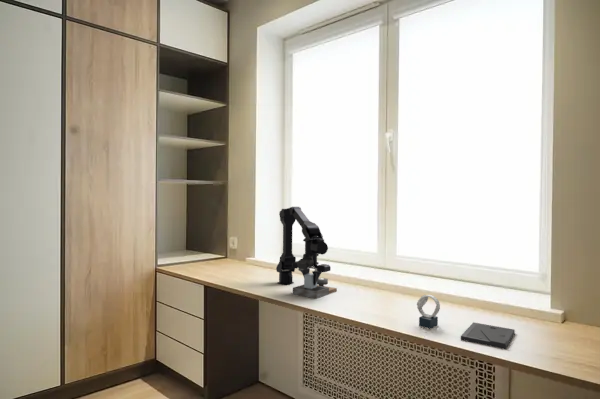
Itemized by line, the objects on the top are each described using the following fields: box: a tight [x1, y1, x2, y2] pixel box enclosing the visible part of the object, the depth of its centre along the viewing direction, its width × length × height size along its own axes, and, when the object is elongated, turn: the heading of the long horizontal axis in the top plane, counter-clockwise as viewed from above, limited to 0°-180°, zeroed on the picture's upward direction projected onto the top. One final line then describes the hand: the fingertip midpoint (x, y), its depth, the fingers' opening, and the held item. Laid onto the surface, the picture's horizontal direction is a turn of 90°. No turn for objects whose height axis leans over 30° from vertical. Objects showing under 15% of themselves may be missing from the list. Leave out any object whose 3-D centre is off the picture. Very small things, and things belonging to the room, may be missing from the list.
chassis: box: [292, 284, 338, 299], centre depth 194 cm, size 14×18×3 cm
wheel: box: [317, 277, 329, 286], centre depth 198 cm, size 6×6×2 cm
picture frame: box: [460, 321, 516, 350], centre depth 135 cm, size 13×2×18 cm
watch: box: [416, 294, 441, 329], centre depth 146 cm, size 6×8×11 cm
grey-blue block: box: [303, 272, 317, 289], centre depth 191 cm, size 4×5×6 cm
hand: (310, 284), depth 191 cm, fingers closed on grey-blue block, 4 cm apart
